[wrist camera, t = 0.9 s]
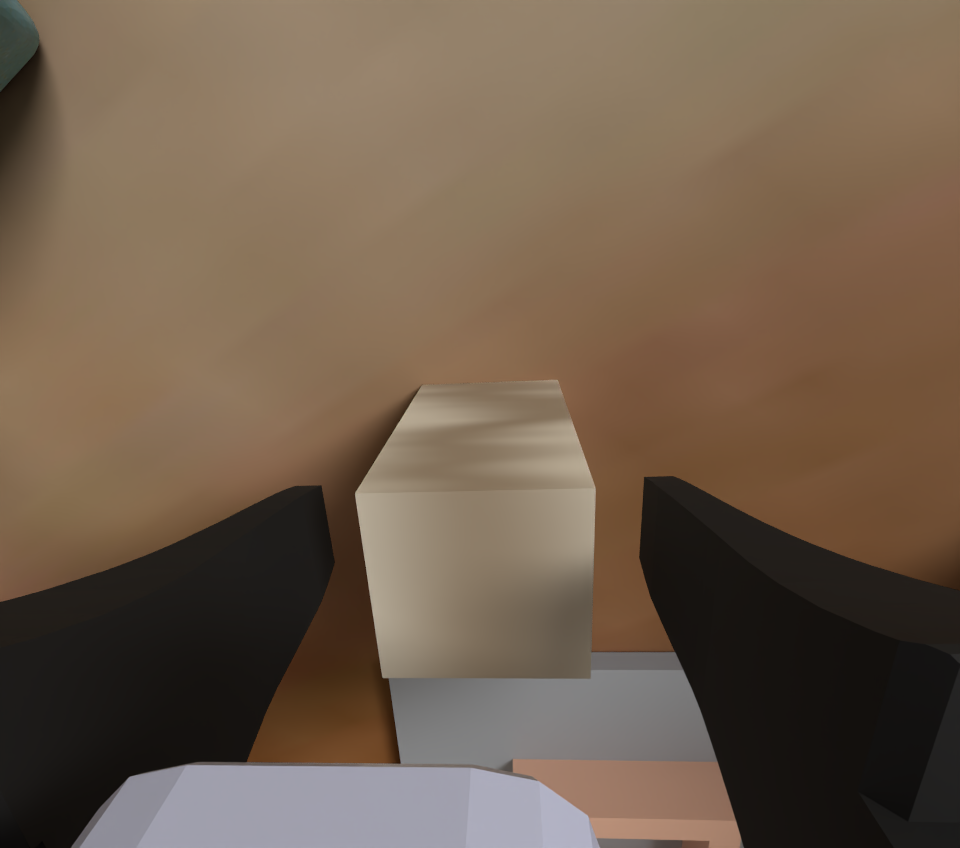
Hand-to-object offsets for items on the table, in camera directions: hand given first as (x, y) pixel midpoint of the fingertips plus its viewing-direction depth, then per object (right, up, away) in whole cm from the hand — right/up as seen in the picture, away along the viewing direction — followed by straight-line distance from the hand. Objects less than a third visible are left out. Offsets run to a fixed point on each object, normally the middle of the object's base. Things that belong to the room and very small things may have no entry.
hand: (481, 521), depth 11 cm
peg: (0, +2, +4) cm, 5 cm away
